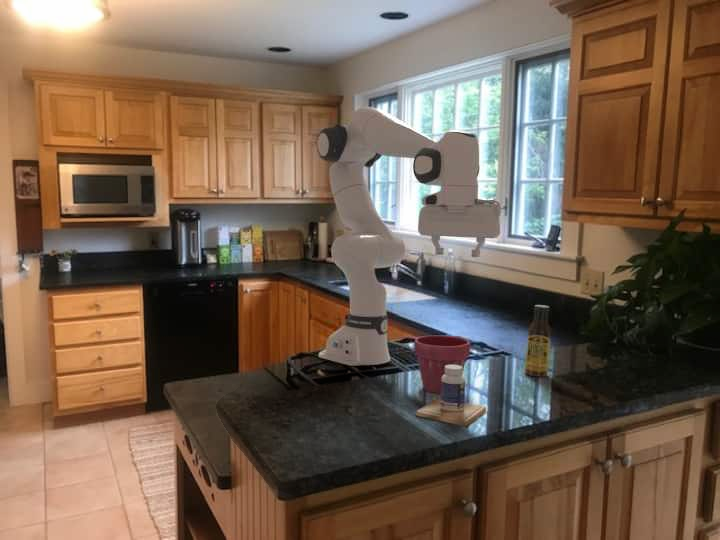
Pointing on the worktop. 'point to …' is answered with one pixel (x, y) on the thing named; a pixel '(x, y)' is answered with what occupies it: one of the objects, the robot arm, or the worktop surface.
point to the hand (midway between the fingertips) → (457, 255)
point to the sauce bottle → (538, 343)
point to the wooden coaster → (451, 413)
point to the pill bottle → (452, 389)
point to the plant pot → (439, 357)
